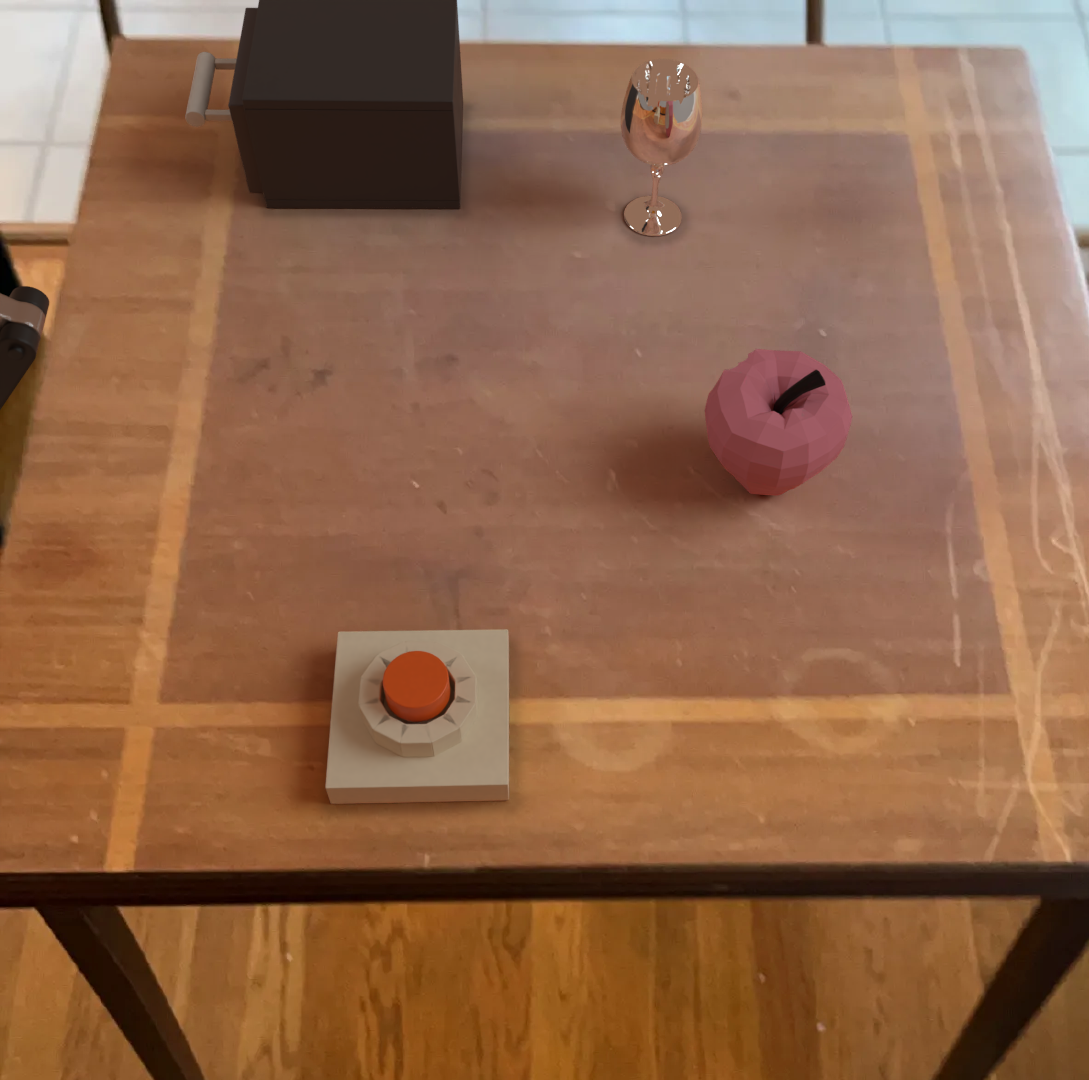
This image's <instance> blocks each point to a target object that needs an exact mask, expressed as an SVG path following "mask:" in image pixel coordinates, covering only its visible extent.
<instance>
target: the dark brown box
mask: <svg viewBox="0 0 1089 1080" xmlns="http://www.w3.org/2000/svg"><path fill="white" fill-rule="evenodd" d="M257 8H258V9H257V15H256V21H255V27H254V33H253V39H252V45H251V51H250V57H249V62H248V68H247V74H246V80H245V86H244V92H243V98H242V101H243V106H244V110H245V115H246V119H247V124H248V128H249V132H250V137H251V141H252V146H253V150H254V154H255V159H256V163H257V167H258V172H259V176H260V181H261V185H262V189H263V193H262V194H263V198H264V202H265V206H266V208H267V209H403V210H405V209H406V210H407V209H408V210H409V209H413V210H414V209H419V210H420V209H423V210H424V209H425V210H426V209H428V210H431V209H432V210H433V209H435V210H436V209H439V210H443V209H444V210H445V209H446V210H447V209H448V210H450V209H451V210H454V209H455V210H459V209H461V201H462V200H461V199H462V198H461V196H462V195H461V194H462V165H463V163H462V162H463V128H464V91H463V90H464V89H463V75H462V73H463V72H462V60H461V42H460V26H459V25H460V24H459V12H458V11H459V10H458V0H258V4H257Z"/></svg>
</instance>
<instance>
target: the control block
mask: <svg viewBox="0 0 1089 1080" xmlns="http://www.w3.org/2000/svg"><path fill="white" fill-rule="evenodd" d="M509 634H510V633H509V629H506V628H503V629H435V630H434V629H431V630H429V629H427V630H425V629H424V630H423V629H422V630H420V629H419V630H366V631H365V630H358V631H357V630H356V631H355V630H354V631H353V630H351V631H337V637H336V638H337V639H336V650H335V662H334V675H333V685H332V686H333V687H332V697H331V698H332V699H331V711H330V723H329V735H328V749H327V760H326V774H325V785H324V788H325V791H326V794H327V797H328V800H329V803H330V804H331V805H342V804H343V805H344V804H347V805H349V804H392V803H393V804H395V803H396V804H397V803H400V804H401V803H438V802H439V803H442V802H443V803H444V802H447V803H448V802H487V801H488V802H491V801H497V802H498V801H510V639H509V638H510V637H509ZM411 651H424V652H428V653H431V654H433V655H435V656H437V657H438V658H439V659H440V660H441V661H442V662H443V663H444V664H445V666H446V668H447V671H448V675H449V683H450V698H449V701H448V704H447V705H446V707H445V708H444V710H443V711H442V712H441V713H439V714H438V715H437V716H435V717H434V718H431V719H429V720H426V721H421V722H412V721H407V720H404V719H402V718H400V717H398V716H397V715H395V714H394V713H393V712H392V711H391V709H390V708H389V706H388V704H387V701H386V697H385V692H384V688H383V675H384V672H385V670H386V668H387V666H388V665H389V664H390V662H391V661H392V660H394V659H395V658H396V657H398V656H399V655H401V654H404V653H406V652H411Z"/></svg>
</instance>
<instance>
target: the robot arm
mask: <svg viewBox="0 0 1089 1080" xmlns="http://www.w3.org/2000/svg"><path fill="white" fill-rule="evenodd" d="M49 307H50V299H49V297H48V296H47V295H46V294H45V292H43V291H42V290H40V289H38V288H36V287H33V286H28V285H21V286H18V287H15V288H14V289H12V291H11V293H10V295H9V296H8V295H5V294H3V293H1V292H0V411H1V410H2V408H3V406H5V404H6V403H7V401H8V400H9V398H10V397H11V395H12V393H13V392H14V391H15V389H16V388H17V387H18V385H19V383H20V382H21V380H22V379H23V377H24V376H25V375H26V373H27V372H28V370H29V369H30V367H31V365H32V364H33V363H34V361H35V360H36V358H37V353H38V350H39V346H40V342H41V339H42V335H43V332H44V327H45V324H46V319H47V316H48V311H49Z"/></svg>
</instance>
